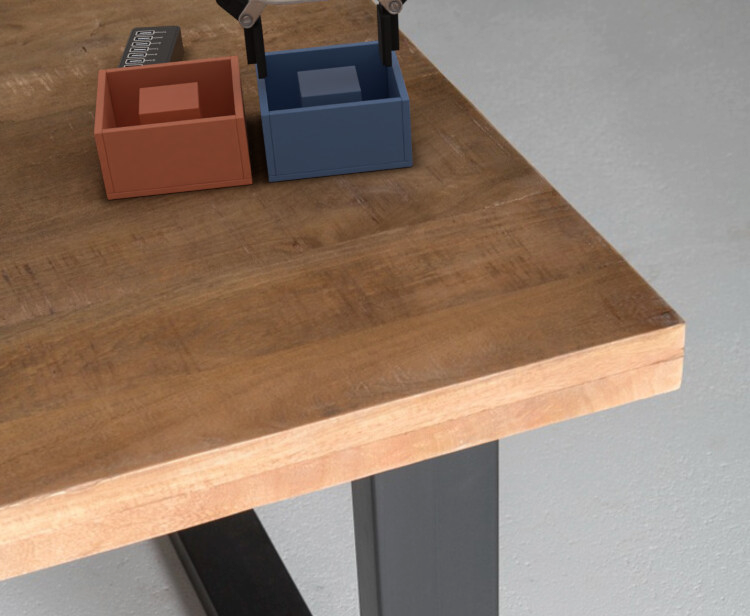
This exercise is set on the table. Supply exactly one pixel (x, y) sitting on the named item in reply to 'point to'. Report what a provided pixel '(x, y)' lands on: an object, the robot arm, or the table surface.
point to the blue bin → (334, 115)
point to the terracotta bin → (172, 131)
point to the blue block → (328, 86)
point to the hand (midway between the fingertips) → (323, 65)
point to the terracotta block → (169, 103)
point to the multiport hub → (152, 46)
